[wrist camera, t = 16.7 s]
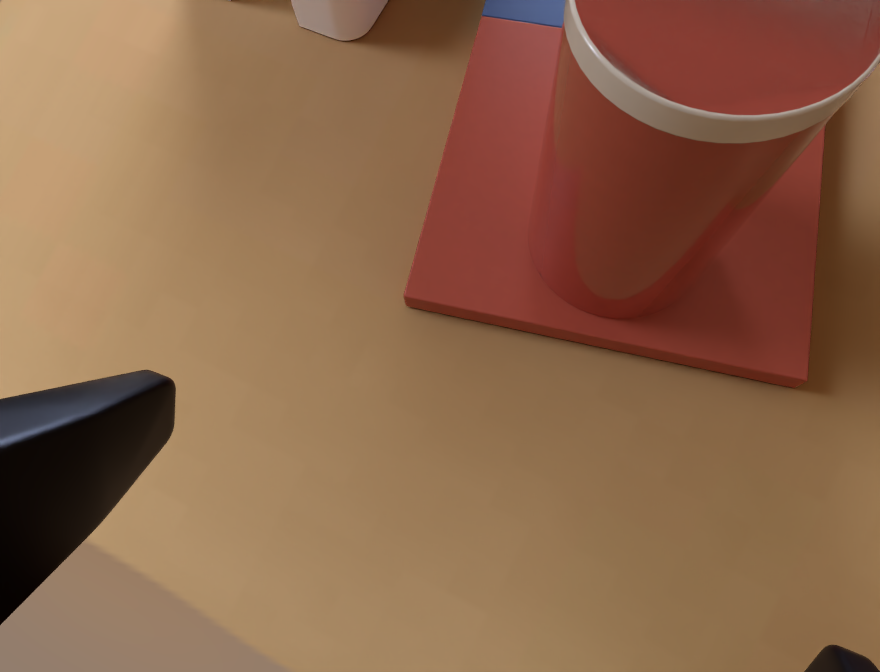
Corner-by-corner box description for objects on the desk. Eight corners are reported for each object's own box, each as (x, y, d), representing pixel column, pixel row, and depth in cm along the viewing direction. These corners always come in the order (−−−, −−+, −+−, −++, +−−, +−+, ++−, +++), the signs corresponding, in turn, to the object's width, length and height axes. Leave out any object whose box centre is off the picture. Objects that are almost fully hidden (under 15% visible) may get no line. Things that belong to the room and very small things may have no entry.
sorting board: (794, 388, 22) (808, 381, 22) (405, 306, 24) (402, 296, 23) (834, -140, 30) (846, -162, 29) (538, -174, 32) (540, -197, 31)
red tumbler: (742, 276, 23) (969, 44, 12) (576, 349, 22) (669, 169, 12) (650, 135, 25) (779, -167, 14) (496, 198, 24) (515, -68, 14)
